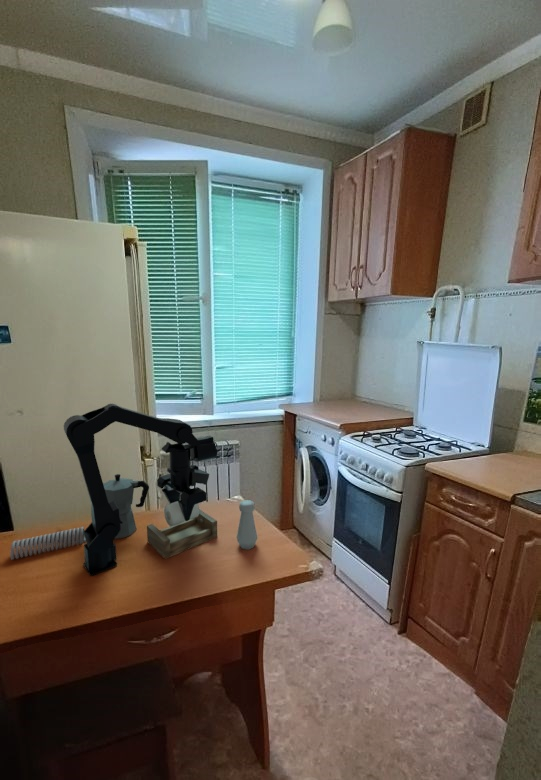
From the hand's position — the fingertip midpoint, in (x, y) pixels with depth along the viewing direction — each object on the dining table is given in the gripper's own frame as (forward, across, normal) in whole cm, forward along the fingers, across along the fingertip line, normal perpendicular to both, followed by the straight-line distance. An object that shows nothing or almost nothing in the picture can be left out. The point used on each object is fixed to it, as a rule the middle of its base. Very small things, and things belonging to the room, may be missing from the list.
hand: (181, 516), depth 105 cm
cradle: (+7, 0, 0) cm, 7 cm away
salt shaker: (+7, -15, -12) cm, 21 cm away
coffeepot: (+7, +16, +11) cm, 21 cm away
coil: (+8, +20, +30) cm, 37 cm away
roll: (+1, 0, 0) cm, 1 cm away
